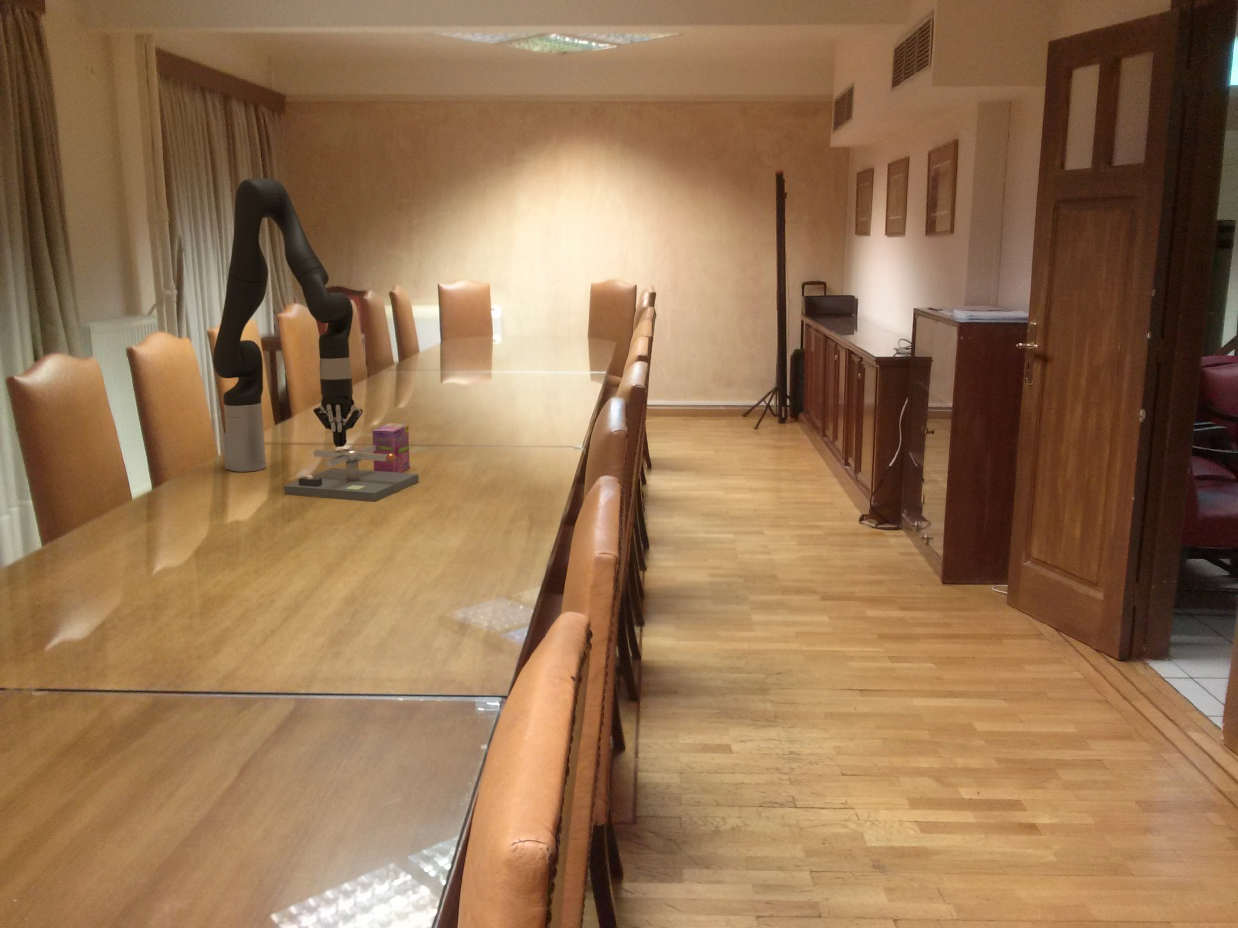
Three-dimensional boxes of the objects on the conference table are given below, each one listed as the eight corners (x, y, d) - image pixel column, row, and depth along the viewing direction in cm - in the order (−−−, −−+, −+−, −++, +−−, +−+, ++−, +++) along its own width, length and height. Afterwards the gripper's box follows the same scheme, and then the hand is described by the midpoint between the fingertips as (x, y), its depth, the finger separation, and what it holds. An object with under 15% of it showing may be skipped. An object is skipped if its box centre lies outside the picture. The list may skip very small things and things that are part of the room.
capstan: (291, 465, 253) (290, 455, 252) (338, 450, 271) (337, 440, 271) (374, 472, 246) (373, 461, 246) (415, 455, 265) (415, 445, 265)
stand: (284, 494, 254) (282, 467, 253) (333, 475, 274) (332, 450, 273) (375, 501, 247) (373, 473, 246) (418, 481, 267) (417, 456, 266)
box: (394, 476, 273) (392, 430, 270) (373, 475, 274) (371, 430, 271) (410, 468, 283) (408, 423, 280) (390, 467, 284) (388, 423, 281)
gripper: (303, 377, 261) (308, 447, 264) (351, 378, 257) (355, 450, 260) (320, 373, 268) (325, 442, 271) (367, 375, 264) (372, 444, 267)
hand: (340, 446), depth 266 cm, fingers closed
